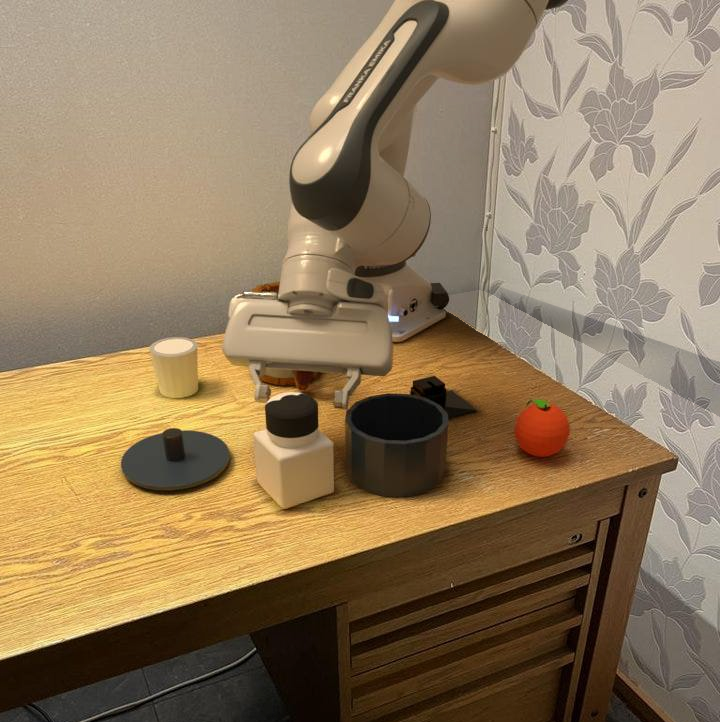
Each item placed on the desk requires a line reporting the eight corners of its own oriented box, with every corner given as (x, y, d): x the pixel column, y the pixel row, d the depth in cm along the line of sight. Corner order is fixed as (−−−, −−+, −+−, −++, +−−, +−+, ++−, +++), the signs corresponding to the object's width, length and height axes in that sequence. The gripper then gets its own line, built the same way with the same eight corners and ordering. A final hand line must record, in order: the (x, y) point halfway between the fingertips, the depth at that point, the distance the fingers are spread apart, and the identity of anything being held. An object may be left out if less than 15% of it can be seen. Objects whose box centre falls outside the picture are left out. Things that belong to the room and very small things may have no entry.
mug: (310, 351, 130) (307, 261, 122) (343, 396, 117) (342, 297, 109) (245, 361, 127) (237, 268, 118) (272, 407, 114) (265, 307, 106)
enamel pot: (396, 434, 108) (398, 384, 104) (464, 471, 100) (469, 419, 96) (325, 466, 101) (324, 414, 97) (393, 509, 93) (395, 455, 89)
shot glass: (197, 400, 116) (192, 356, 112) (150, 399, 116) (143, 355, 112) (206, 379, 121) (201, 336, 117) (161, 378, 121) (155, 335, 118)
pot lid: (194, 427, 109) (190, 397, 106) (250, 467, 101) (248, 435, 98) (103, 462, 102) (96, 430, 99) (156, 508, 93) (150, 474, 91)
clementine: (498, 440, 107) (504, 392, 103) (544, 432, 108) (552, 385, 105) (527, 471, 100) (534, 421, 96) (575, 461, 102) (584, 413, 98)
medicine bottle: (335, 493, 96) (334, 404, 89) (282, 511, 93) (277, 421, 86) (306, 465, 101) (303, 380, 94) (255, 482, 98) (248, 395, 91)
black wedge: (401, 432, 108) (401, 402, 106) (376, 409, 114) (376, 380, 111) (477, 412, 113) (480, 382, 110) (450, 391, 118) (452, 362, 116)
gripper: (224, 278, 94) (207, 389, 91) (396, 287, 91) (383, 402, 89) (238, 300, 100) (222, 406, 98) (400, 310, 98) (388, 418, 95)
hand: (300, 404), depth 93 cm, fingers open, 8 cm apart
